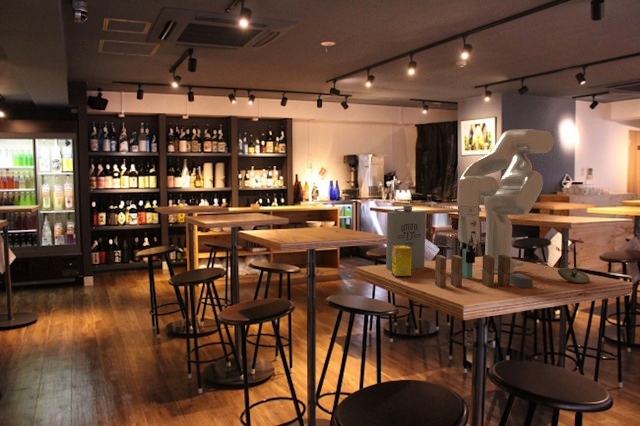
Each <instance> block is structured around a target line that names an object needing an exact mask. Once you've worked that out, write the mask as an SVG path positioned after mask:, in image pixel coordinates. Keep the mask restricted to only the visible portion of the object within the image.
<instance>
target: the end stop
mask: <svg viewBox="0 0 640 426" xmlns="http://www.w3.org/2000/svg"><path fill="white" fill-rule="evenodd" d="M510 284H512V285H514V286H516V287H518V288H521V289H528V288H529V289H532V288H533V287H534V279H533V278H531V277H530V276H527V275H524V274H522V273H510Z"/></svg>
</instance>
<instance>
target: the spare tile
mask: <svg viewBox="0 0 640 426" xmlns="http://www.w3.org/2000/svg"><path fill="white" fill-rule="evenodd" d="M466 252H467V249H462V258H463V262H462V278H465V279H466V280H469V279H470V280H473V264H474V263H466Z"/></svg>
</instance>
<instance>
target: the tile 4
mask: <svg viewBox="0 0 640 426" xmlns="http://www.w3.org/2000/svg"><path fill="white" fill-rule="evenodd" d="M494 265H495V257H493V256H490V255H485V254H482V266H483V267H482V270H481V271H482V273H481V275H482V276H481V285H483V286H485V287H487V288H494V287H495V286H494V285H495V284H494V283H495V273H494Z"/></svg>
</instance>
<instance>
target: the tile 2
mask: <svg viewBox="0 0 640 426" xmlns="http://www.w3.org/2000/svg"><path fill="white" fill-rule="evenodd" d="M450 260H451V261H450V263H451V266H450V267H451V268H450V285H451V286H453V287H454V288H458V289H459V288H462V287H463V286H462V285H463V276H462V262H463V258H462V257H460V255H457V254H453V255H452V254H451V259H450Z"/></svg>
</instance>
